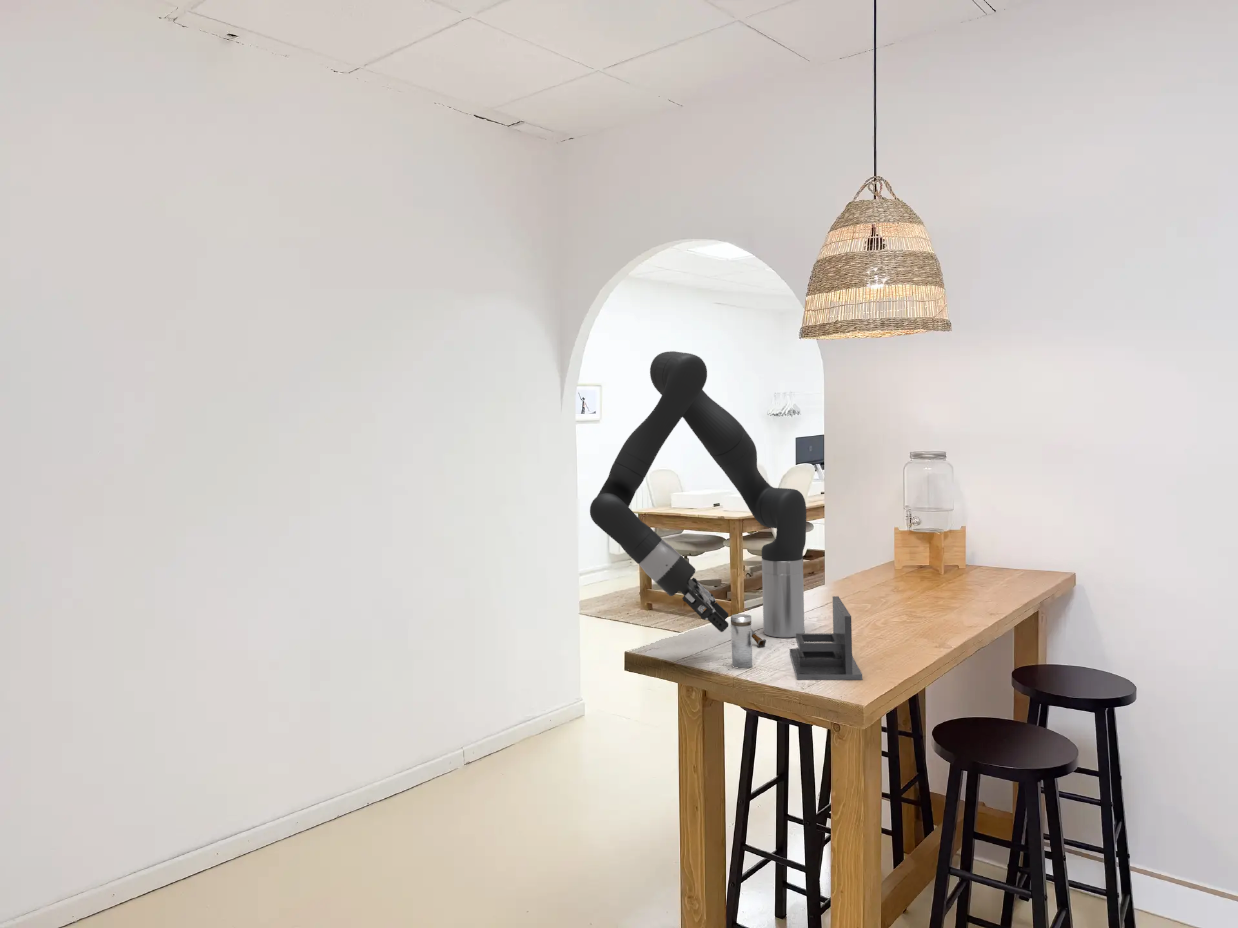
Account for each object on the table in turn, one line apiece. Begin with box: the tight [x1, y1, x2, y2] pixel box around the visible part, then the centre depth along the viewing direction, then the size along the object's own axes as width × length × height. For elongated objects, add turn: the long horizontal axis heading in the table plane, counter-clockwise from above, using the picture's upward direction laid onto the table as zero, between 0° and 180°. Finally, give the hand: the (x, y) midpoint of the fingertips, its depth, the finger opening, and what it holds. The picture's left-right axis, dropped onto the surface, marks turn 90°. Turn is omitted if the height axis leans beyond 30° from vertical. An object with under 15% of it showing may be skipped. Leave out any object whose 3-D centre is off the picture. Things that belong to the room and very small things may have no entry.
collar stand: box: [789, 595, 863, 681], centre depth 169 cm, size 18×12×12 cm, turn 173°
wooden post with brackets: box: [751, 628, 767, 648], centre depth 188 cm, size 2×8×4 cm, turn 29°
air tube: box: [730, 613, 753, 669], centre depth 171 cm, size 4×4×10 cm
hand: (725, 623), depth 171 cm, fingers open, 8 cm apart
